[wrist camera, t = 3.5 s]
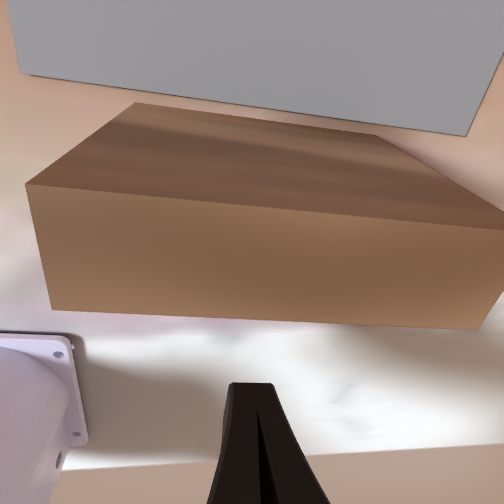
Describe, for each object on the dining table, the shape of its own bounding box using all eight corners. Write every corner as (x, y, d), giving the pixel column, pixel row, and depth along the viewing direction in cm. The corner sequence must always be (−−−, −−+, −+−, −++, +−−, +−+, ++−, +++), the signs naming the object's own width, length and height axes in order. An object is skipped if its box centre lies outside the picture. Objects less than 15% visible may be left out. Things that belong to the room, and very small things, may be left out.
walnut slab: (354, 199, 15) (473, 336, 8) (137, 176, 13) (53, 317, 6) (374, 134, 13) (540, 234, 6) (135, 102, 12) (25, 183, 5)
